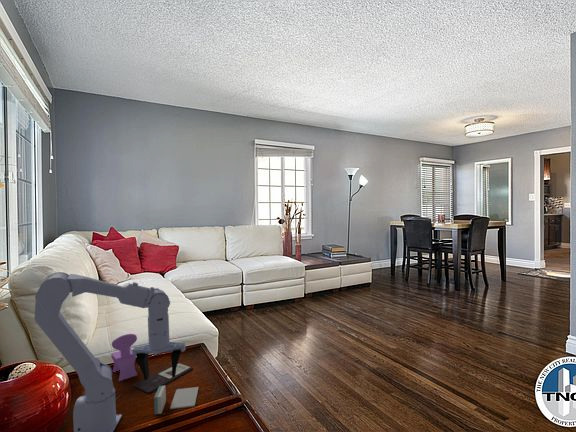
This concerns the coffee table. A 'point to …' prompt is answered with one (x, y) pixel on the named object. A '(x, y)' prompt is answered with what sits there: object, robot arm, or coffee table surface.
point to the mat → (184, 398)
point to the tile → (160, 399)
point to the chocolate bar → (161, 378)
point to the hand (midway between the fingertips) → (160, 376)
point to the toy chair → (124, 356)
